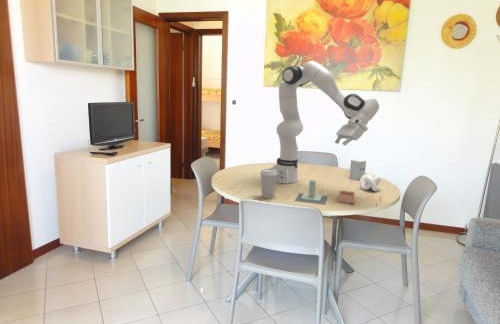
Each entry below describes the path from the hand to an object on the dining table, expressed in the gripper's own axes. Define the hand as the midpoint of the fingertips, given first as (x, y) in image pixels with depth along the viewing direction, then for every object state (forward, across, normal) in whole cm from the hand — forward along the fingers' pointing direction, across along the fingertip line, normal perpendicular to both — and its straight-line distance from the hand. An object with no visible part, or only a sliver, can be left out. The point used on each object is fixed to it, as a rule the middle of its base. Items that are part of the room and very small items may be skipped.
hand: (339, 143), depth 190 cm
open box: (+22, +6, +22) cm, 31 cm away
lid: (+32, 0, +8) cm, 33 cm away
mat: (+32, 0, +8) cm, 33 cm away
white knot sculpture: (+5, -15, +40) cm, 43 cm away
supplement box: (0, -41, +43) cm, 60 cm away
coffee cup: (+47, -6, -9) cm, 48 cm away
